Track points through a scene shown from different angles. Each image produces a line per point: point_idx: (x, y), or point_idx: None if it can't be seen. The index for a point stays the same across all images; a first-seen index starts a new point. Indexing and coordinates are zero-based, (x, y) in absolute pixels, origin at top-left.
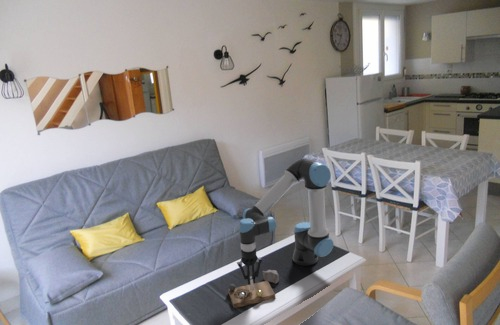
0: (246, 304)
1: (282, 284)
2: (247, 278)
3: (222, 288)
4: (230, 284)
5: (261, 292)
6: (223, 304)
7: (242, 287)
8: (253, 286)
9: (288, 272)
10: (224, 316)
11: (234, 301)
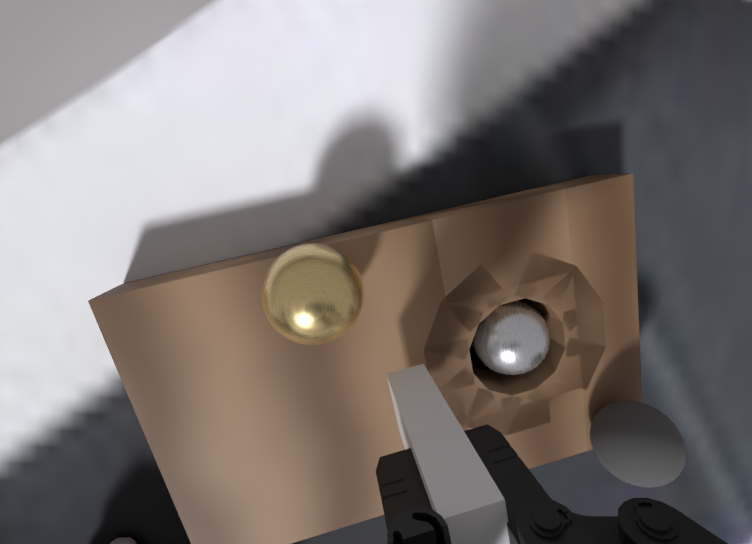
0: (467, 205)
1: (40, 524)
2: (581, 535)
3: None
4: (677, 475)
5: (275, 276)
6: (672, 250)
7: None
8: (399, 407)
9: None
10: (693, 55)
11: (615, 220)
